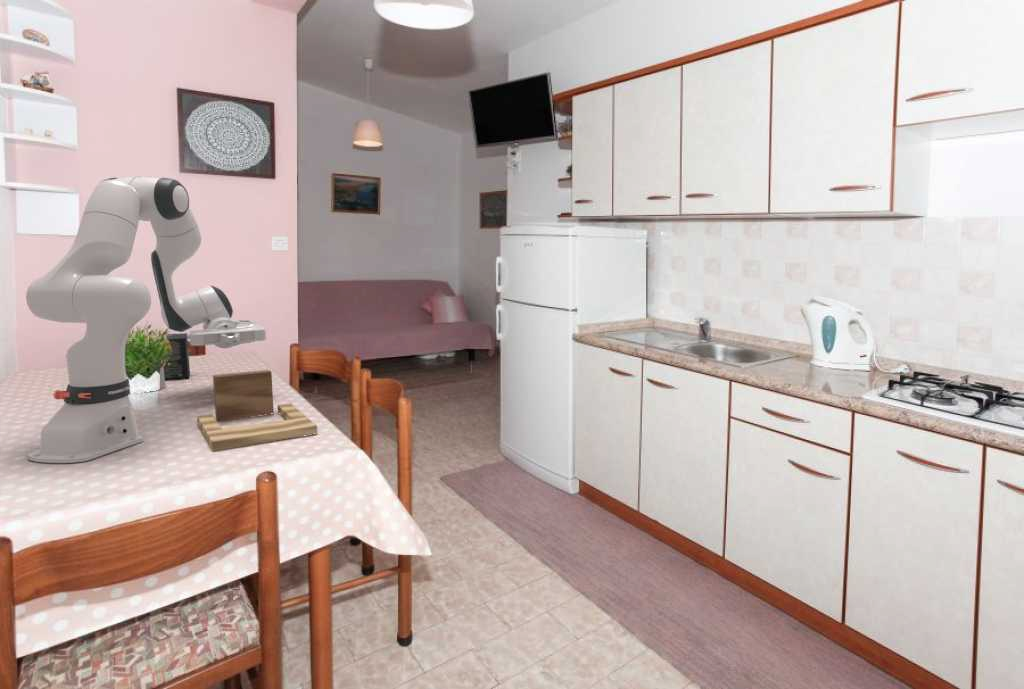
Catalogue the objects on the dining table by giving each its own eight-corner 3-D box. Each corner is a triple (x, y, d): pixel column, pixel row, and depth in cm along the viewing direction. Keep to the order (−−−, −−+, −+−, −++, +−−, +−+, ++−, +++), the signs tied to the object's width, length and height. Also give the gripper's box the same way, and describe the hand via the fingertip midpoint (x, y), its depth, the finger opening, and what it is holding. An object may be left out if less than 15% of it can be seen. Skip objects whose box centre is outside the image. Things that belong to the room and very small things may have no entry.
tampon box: (161, 375, 214) (157, 334, 212) (190, 373, 218) (187, 332, 215) (157, 381, 204) (154, 338, 202) (188, 379, 208) (185, 337, 206)
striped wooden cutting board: (197, 423, 158) (196, 415, 157) (290, 410, 171) (290, 403, 170) (212, 451, 137) (212, 441, 137) (317, 434, 150) (317, 425, 150)
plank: (215, 418, 162) (212, 375, 160) (270, 411, 170) (268, 369, 168) (218, 422, 160) (214, 377, 158) (273, 414, 167) (271, 371, 165)
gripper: (184, 325, 177) (190, 331, 165) (258, 320, 188) (269, 326, 177) (186, 346, 178) (192, 354, 167) (260, 340, 189) (270, 347, 178)
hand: (232, 339), depth 172 cm, fingers closed
